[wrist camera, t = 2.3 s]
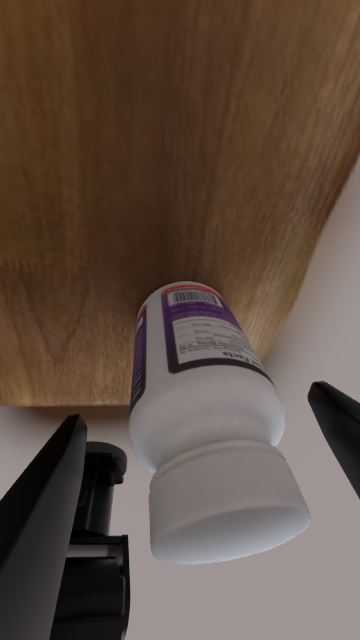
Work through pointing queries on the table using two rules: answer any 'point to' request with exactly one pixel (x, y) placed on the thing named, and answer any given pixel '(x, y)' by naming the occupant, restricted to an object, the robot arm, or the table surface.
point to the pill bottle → (208, 433)
